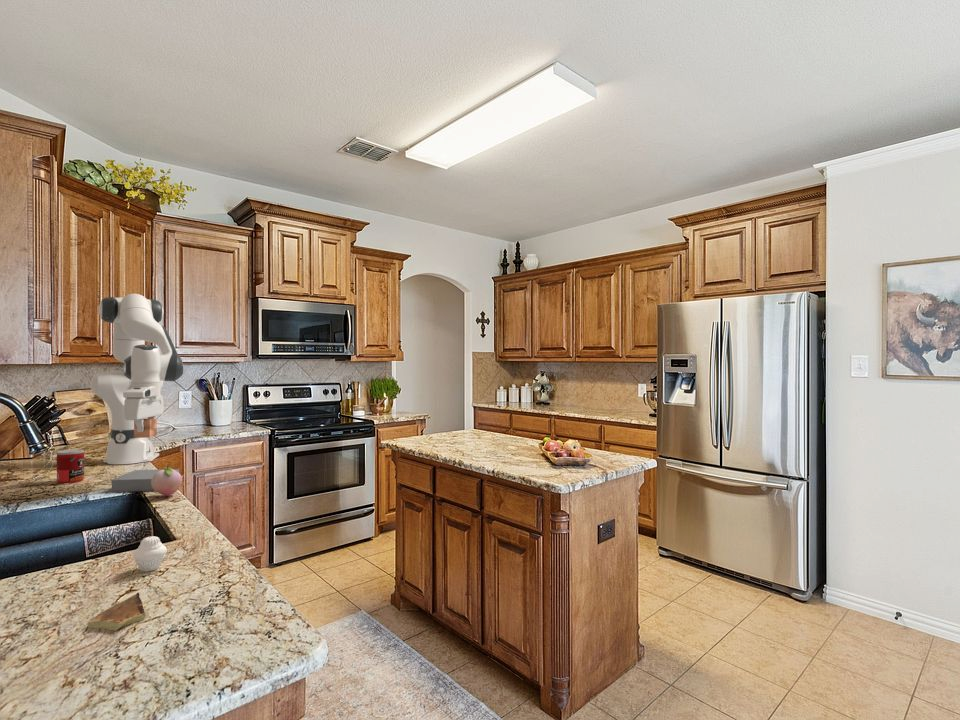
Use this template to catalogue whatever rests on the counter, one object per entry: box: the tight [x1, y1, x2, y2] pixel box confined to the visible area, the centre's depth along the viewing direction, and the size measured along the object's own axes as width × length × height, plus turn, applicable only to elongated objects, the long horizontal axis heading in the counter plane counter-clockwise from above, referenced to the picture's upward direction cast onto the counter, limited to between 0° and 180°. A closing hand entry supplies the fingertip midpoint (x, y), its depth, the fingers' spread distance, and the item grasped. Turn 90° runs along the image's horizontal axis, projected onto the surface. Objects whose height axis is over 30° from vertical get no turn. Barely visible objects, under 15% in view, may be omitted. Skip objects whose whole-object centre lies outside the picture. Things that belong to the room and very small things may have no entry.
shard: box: [86, 592, 147, 631], centre depth 91 cm, size 11×8×2 cm
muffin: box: [132, 535, 168, 573], centre depth 110 cm, size 6×6×7 cm
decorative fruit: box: [151, 465, 183, 498], centre depth 166 cm, size 9×8×10 cm
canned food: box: [56, 448, 85, 484], centre depth 185 cm, size 8×8×11 cm
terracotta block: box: [134, 418, 158, 439], centre depth 179 cm, size 5×5×6 cm
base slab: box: [111, 468, 180, 493], centre depth 180 cm, size 15×15×4 cm
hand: (145, 430), depth 179 cm, fingers closed on terracotta block, 5 cm apart
